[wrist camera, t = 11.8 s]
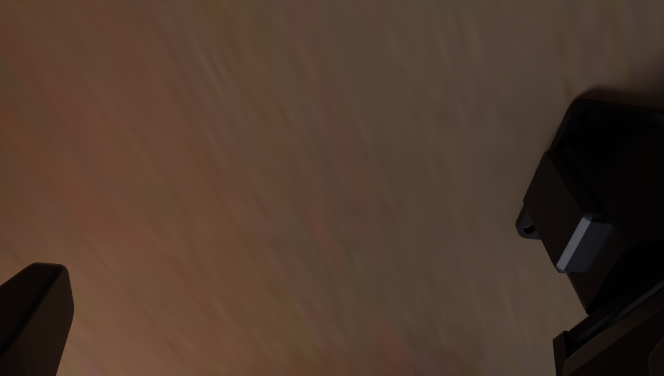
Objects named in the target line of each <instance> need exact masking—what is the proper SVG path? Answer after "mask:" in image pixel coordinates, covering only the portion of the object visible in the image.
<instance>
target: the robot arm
mask: <svg viewBox="0 0 664 376" xmlns="http://www.w3.org/2000/svg"><path fill="white" fill-rule="evenodd" d="M585 110H587V112H586V114H585V115H583V116H582V117H577V116H578V114H579V113H580V112H582V111H585ZM523 203H524V206H523V208H522V210H521V212H520V214H519V217H518V219H517V221H516V224H515V226H516V229H517V231H518V234H519V235H520V236H521V237H523V238H529V239H538V240H542V242H543V244H544V246H545V249H546V251H547V253H548V255H549V257H550V259H551V261H552V263H553V265H554V267H555V268H556V270H557V271H558V272H559V273H566V274H567V276H568V278H569V280H570V282H571V284H572V285H573V287H574V289H575V291H576V293H577V295H578V297H579V299H580V301H581V303H582V305H583V307H584V309H585V311H586V313H587V314H588V315H589V316H587V317H586V318H585V319H584V320H582V321H581V322H580V323H578V324H577V325H576V326H574V327H573V328H572V329H571V330H569V331H563V332H562V333H561V334H559V335H558V336H557V337H555V338H554V339H553V349H554V358H555V368H556V376H664V110H659V109H652V108H645V107H637V106H630V105H623V104H616V103H609V102H602V101H595V100H588V99H581V100H578V101H575V102H574V103H573V104H571V105H570V107H569V108H568V110H567V112H566V114H565V116H564V118H563V120H562V123H561V125H560V127H559V129H558V131H557V134H556V136H555V138H554V140H553V142H552V145H551V147H550V149H548V150H547V151H546V152H545V153H544V155H543V157H542V159H541V162H540V164H539V166H538V168H537V170H536V173H535V175H534V177H533V179H532V181H531V184H530V186H529V188H528V190H527V192H526V195H525V197H524V199H523ZM528 225H531V226H530V227H528V228H525V227H526V226H528ZM73 315H74V302H73V296H72V290H71V284H70V278H69V273H68V270H67V268H66V267H65V266H64V265H61V264H52V263H41V262H36V263H33V264H30V265H29V266H27V267H26V268H24V269H23V270H21V271H20V272H19V273H17V274H16V275H15V276H13V277H12V278H10V279H9V280H8V281H6V282H5V283H3V284H2V285H1V286H0V376H56V373H57V370H58V367H59V363H60V360H61V357H62V354H63V350H64V347H65V344H66V340H67V337H68V334H69V331H70V327H71V324H72V320H73Z"/></svg>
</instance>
